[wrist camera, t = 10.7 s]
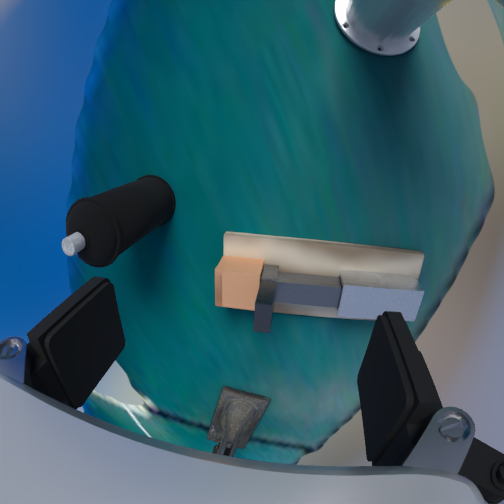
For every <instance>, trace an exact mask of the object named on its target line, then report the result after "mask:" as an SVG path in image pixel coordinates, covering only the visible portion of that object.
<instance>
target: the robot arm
mask: <svg viewBox="0 0 504 504" xmlns="http://www.w3.org/2000/svg"><path fill="white" fill-rule="evenodd" d="M450 1H452V0H335V4H334V15H335V19H336V22H337V24H338V26H339V28H340V29H341V31H342V32H343V34H344V35H345V36H346V37H347V38H348V39H349V40H350V41H351V42H353V43H354V44H355V45H357V46H358V47H360V48H362V49H364V50H366V51H368V52H371V53H373V54H377V55H383V56H395V55H399V54H403V53H405V52H406V51H408V50H410V49H411V48H412V47H413V46H414V45H415V44H416V43H417V41H418V38H419V36H420V26H421V25H422V24H423V23H424V22H426V21H427V20H428V19H429V18H431V17H432V16H433V15H434V14H436V13H437V12H438V11H439V10H440V9H442V8H443V7H444V6H446V5H447V4H448V3H449V2H450ZM495 1H496V2H497V3H498V4H499V5H500V6H502V7H503V8H504V0H495ZM344 26H346V27H347V28H344ZM409 39H410V40H411V41H410V40H409ZM378 49H380V50H381V51H379V50H378ZM27 336H28V338H29V341H30V342H29V343H28V344H27V343H26V341H25V340H24V339H23V338H21V337H17V336H13V337H12V336H11V337H8V338H6V339H4V340H2V341H1V342H0V504H504V454H502V453H501V452H499V451H497V450H495V449H494V448H492V447H490V446H488V445H487V444H485V443H483V442H481V441H480V440H478V439H476V438H474V435H475V424H474V422H473V420H472V418H471V417H470V416H469V415H468V414H467V413H466V412H465V411H463V410H462V409H459V408H456V407H445V408H443V407H442V404H441V401H440V399H439V396H438V393H437V390H436V388H435V385H434V383H433V380H432V378H431V375H430V373H429V370H428V368H427V365H426V363H425V361H424V358H423V356H422V354H421V352H420V351H418V349H417V346H416V344H415V342H414V339H413V337H412V335H411V333H410V330H409V328H408V326H407V324H406V322H405V320H404V317H403V315H402V313H401V312H392V311H384V312H383V314H382V315H378V316H377V319H376V322H375V325H374V328H373V332H372V335H371V338H370V341H369V344H368V347H367V350H366V353H365V356H364V359H363V362H362V365H361V368H360V370H359V373H358V379H357V383H358V390H359V397H360V404H361V411H362V419H363V427H364V436H365V445H366V455H367V460H368V461H372V466H360V467H336V466H331V467H330V466H311V465H310V466H309V465H294V464H282V463H272V462H264V461H256V460H249V459H242V458H236V457H230V456H224V455H219V454H214V453H209V452H204V451H200V450H195V449H191V448H187V447H183V446H179V445H175V444H171V443H168V442H164V441H161V440H157V439H154V438H150V437H147V436H144V435H141V434H138V433H135V432H132V431H129V430H126V429H123V428H120V427H118V426H115V425H112V424H110V423H107V422H104V421H102V420H99V419H97V418H94V417H92V416H90V415H87V414H85V413H82V412H80V411H78V410H76V409H77V408H78V407H81V406H82V405H83V404H84V403H85V401H86V400H87V398H88V397H89V395H90V394H91V393H92V391H93V390H94V388H95V387H96V386H97V384H98V383H99V381H100V380H101V378H102V377H103V376H104V375H105V373H106V372H107V370H108V369H109V368H110V366H111V365H112V363H113V362H114V361H115V360H116V358H117V357H118V356H119V354H120V353H121V352H122V350H123V349H124V346H125V338H124V334H123V329H122V325H121V320H120V316H119V311H118V306H117V301H116V296H115V291H114V286H113V284H112V283H110V280H109V279H107V278H102V277H93V278H91V279H90V280H89V281H88V282H86V283H85V284H84V285H83V286H82V287H80V288H79V289H78V290H77V291H75V292H74V293H73V294H72V295H71V296H70V297H68V298H67V299H66V300H65V301H64V302H62V303H61V304H60V305H59V306H58V307H56V308H55V309H54V310H53V311H52V312H51V313H50V314H48V315H47V316H46V317H45V318H44V319H43V320H42V321H41V322H39V323H38V324H37V325H36V326H35V327H34V328H33V329H32V330H31V331H29V332H28V333H27Z"/></svg>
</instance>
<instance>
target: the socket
mask: <svg viewBox="0 0 504 504" xmlns="http://www.w3.org/2000/svg"><path fill="white" fill-rule="evenodd" d="M262 270H264V259H255V258H245V257H235V256H225V255H224V256H223V257H222V259H221V261H220V262H219V264H218V266H217V267H216V269H215V306H222V307H229V308H237V309H245V310H253V311H254V310H255V301H256V297H257V294H258V290H259V286H260V277H261V273H262Z"/></svg>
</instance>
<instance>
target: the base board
mask: <svg viewBox="0 0 504 504" xmlns="http://www.w3.org/2000/svg"><path fill="white" fill-rule="evenodd" d="M224 255H225V256H235V257H245V258H255V259H264V267H265V264H268V265H278V266H279V271H281V272H291V273H302V274H312V275H323V276H333V277H338V276H339V270H340V269H348V270H359V271H369V272H380V273H391V274H402V275H413V276H414V277H415V278H416V280H417V281H418V278H419V275H420V271H421V268H422V264H423V260H424V256H425V255H424V254H423V252H422V251H416V250H407V249H398V248H389V247H380V246H371V245H362V244H352V243H343V242H333V241H323V240H313V239H303V238H293V237H282V236H271V235H260V234H249V233H238V232H227V231H226V233H225V234H224ZM273 312H277V313H287V314H297V315H308V316H319V317H331V318H344V319H358V320H374V321H376V319H360V318H346V317H337V312H336V308H333V307H321V306H310V305H299V304H289V303H279V302H275V306H274V311H273Z"/></svg>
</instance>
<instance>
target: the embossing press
mask: <svg viewBox="0 0 504 504" xmlns="http://www.w3.org/2000/svg"><path fill="white" fill-rule="evenodd" d="M269 402H270V398H267V397H264V396H260V395H257V394H253V393H248V392H245V391H241V390H238V389H234V388H231V387H227V386H223V388H222V391H221V394H220V398H219V400H218V403H217V407H216V409H215V413H214V416H213V419H212V422H211V425H210V428H209V431H208V435H207V439H209V440H212V441H215V442H218V445H216V446H214V449H213V453H214V454H219V455H224V456H230V457H233V455H234V453H235V450H236V447H237V448H241V449H243V448H245V446H246V444H247V442H248V440H249V438H250V437H251V435H252V433H253V431H254V429H255V428H256V426H257V424H258V422H259V420H260V419H261V417H262V415H263V413H264V411H265V410H266V408H267V406H268V404H269Z"/></svg>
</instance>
